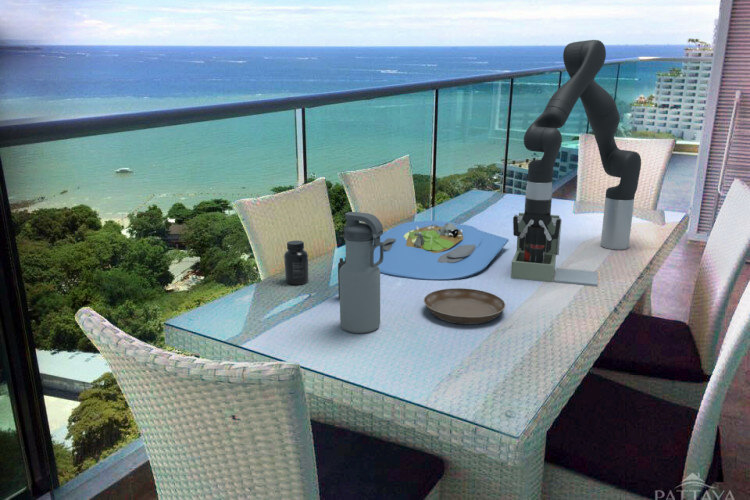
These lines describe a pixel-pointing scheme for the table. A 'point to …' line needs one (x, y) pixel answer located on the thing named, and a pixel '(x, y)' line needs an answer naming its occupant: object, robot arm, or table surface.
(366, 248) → the water bottle
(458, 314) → the plant saucer
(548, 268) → the case
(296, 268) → the supplement bottle
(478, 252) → the island diorama
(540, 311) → the table surface
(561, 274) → the mat
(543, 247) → the deodorant
